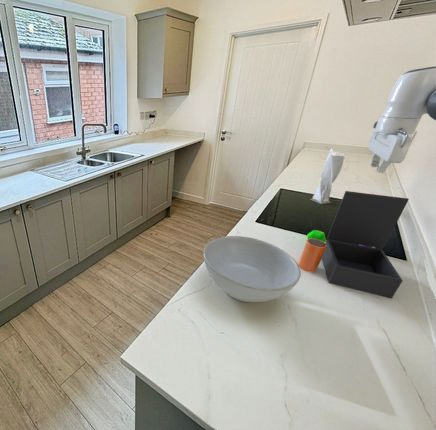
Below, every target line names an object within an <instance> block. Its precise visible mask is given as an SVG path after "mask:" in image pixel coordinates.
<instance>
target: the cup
mask: <svg viewBox="0 0 436 430" xmlns="http://www.w3.org/2000/svg"><path fill="white" fill-rule="evenodd" d="M326 247H327V245H326V243H325V242H323V241H320V240H317V239H308V238H307V239H306V241H305V243H304V247H303V249H302V252H301V255H300V258H299V259H298V260H299V261H298V262H297V264H298V266H299V268H300V270H302V271H305V272H309V273H315V272H317V271H318V268H319V266H320V264H321V261H322V256H323V254H324V251H325V249H326Z"/></svg>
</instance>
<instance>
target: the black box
mask: <svg viewBox="0 0 436 430" xmlns="http://www.w3.org/2000/svg"><path fill="white" fill-rule="evenodd" d="M324 243H326V245H327V247H326V249H325V251H324V254H323V256H322V259H321V261H322V266H323V269H324V272H325V275H326V278H327V279H326V280H327V282H328V284H331V285H335V286H339V287H343V288H346V289H347V288H348V289H351V290H355V291H360V292H363V293H368V294H372V295H376V296H379V297H384V298H388V299H393V298H394V296H395V294H396V292H397V291H398V289H399V288H400V286H401V284H402V283H403V278H402V276H400V274H399V273H398V270H397V269H396V267H394V265H393V263H392V262H391V260H390V259H389V258H388V256H387V254H386V253H385V252H384V250H383V249H382V248H376V247H375V248H371V247H366V246H361V245H359V244H355V243H349V242H344V241H339V240H333V239H328V238H326V242H324Z"/></svg>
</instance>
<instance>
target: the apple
mask: <svg viewBox="0 0 436 430" xmlns="http://www.w3.org/2000/svg"><path fill="white" fill-rule="evenodd" d="M306 238H307V240H308V239H317V240H320V241H323V242H324V243H325V242H326V240H327V237H326V234H325V232H324V231H321V230H317V229H313V230H311V231H310V232H309V233H307V235H306Z"/></svg>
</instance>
